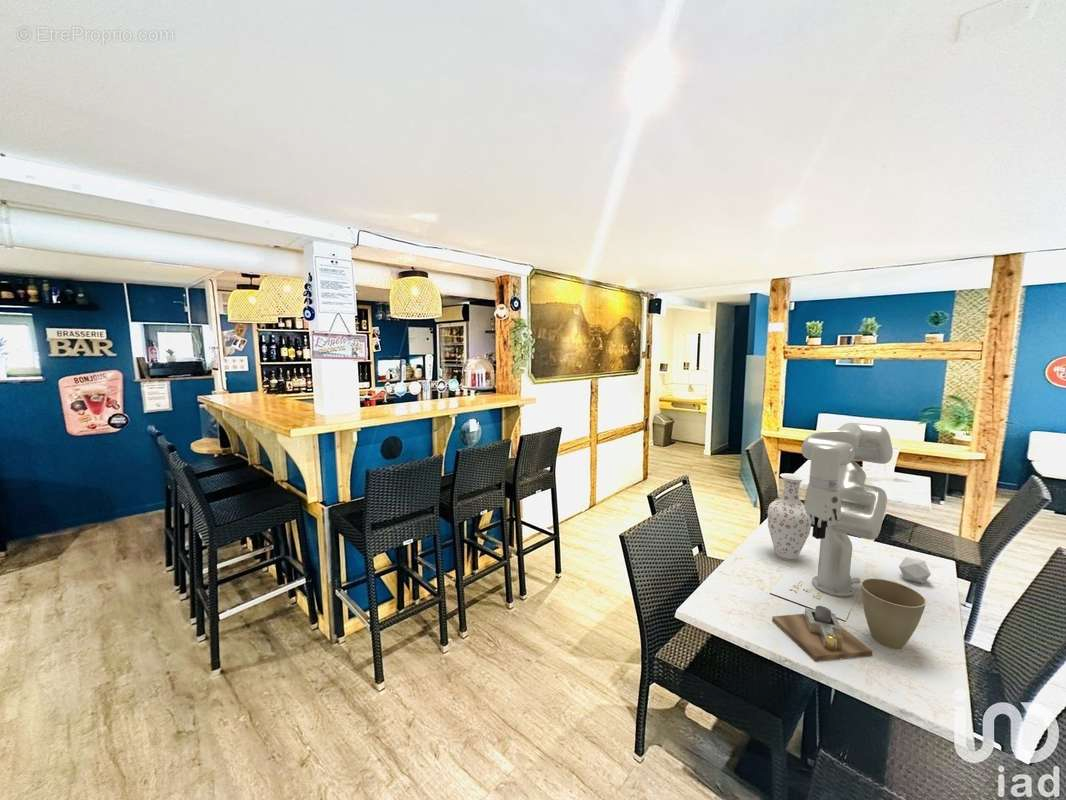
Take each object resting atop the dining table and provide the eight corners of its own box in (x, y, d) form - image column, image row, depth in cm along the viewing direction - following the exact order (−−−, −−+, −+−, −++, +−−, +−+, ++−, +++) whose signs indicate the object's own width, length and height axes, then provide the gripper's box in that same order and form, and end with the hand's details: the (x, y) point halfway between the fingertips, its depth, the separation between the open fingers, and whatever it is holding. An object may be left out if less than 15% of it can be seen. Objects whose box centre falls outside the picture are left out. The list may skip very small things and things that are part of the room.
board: (822, 616, 139) (824, 595, 138) (872, 655, 121) (874, 631, 121) (772, 620, 137) (773, 599, 136) (815, 661, 119) (817, 636, 118)
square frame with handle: (804, 616, 137) (805, 606, 136) (833, 622, 133) (834, 612, 133) (814, 646, 123) (815, 635, 122) (847, 654, 120) (849, 642, 119)
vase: (818, 565, 172) (825, 482, 168) (779, 566, 171) (786, 482, 167) (791, 546, 188) (797, 470, 184) (756, 547, 187) (762, 471, 183)
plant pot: (849, 620, 137) (854, 574, 135) (907, 632, 132) (912, 584, 130) (865, 650, 124) (870, 599, 122) (930, 664, 118) (936, 611, 116)
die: (919, 590, 155) (940, 570, 154) (893, 570, 161) (913, 551, 159) (915, 588, 162) (935, 569, 161) (890, 569, 167) (909, 551, 166)
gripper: (854, 490, 127) (848, 547, 130) (815, 475, 142) (811, 527, 144) (831, 491, 127) (826, 549, 129) (795, 476, 141) (791, 528, 143)
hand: (818, 537), depth 137 cm, fingers closed
